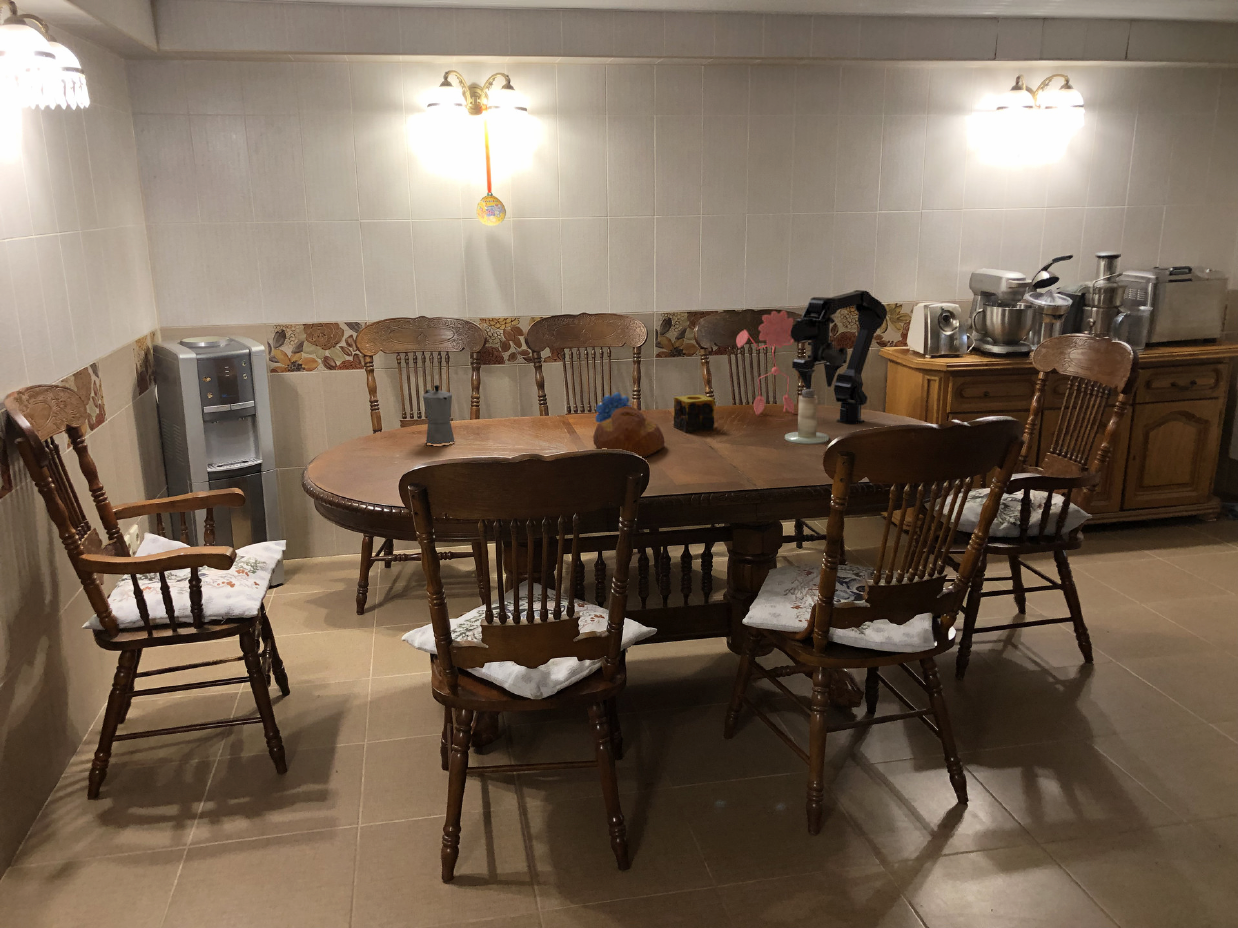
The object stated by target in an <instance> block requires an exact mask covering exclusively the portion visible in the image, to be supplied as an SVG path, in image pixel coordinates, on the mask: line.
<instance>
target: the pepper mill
mask: <svg viewBox="0 0 1238 928" xmlns="http://www.w3.org/2000/svg"><path fill="white" fill-rule="evenodd" d="M797 411H798V412H797V413H798V415H797V432H798V437H801V438H814V437H816V432H817V427H818V424H817V423H818V422H817V421H818V396H817V395H815V389H812V388H811V389H806V388H805V389H802V391H801V395H799V396H798V410H797Z"/></svg>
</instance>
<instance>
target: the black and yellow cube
mask: <svg viewBox="0 0 1238 928" xmlns="http://www.w3.org/2000/svg"><path fill="white" fill-rule="evenodd" d="M673 403H674V404H673V427H674V428H675V429H677V430H680V431H683V432H684V433H686V434H687V433H698V432H706V431H713V430H714V429H715V399H714V398H711V397H709V396H706V395H704V394H694V395H693V394H692V395H683V396H674V397H673Z"/></svg>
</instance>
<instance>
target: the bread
mask: <svg viewBox="0 0 1238 928" xmlns="http://www.w3.org/2000/svg"><path fill="white" fill-rule="evenodd" d="M630 406H631V405H630ZM630 406H625V407H622V408H618V409H617V410H615V411H614V412H613V414H612V415H611V418H609V419H607V420H604V421H602V422H598V424H597V425H596V428H594V429H595V430H594V432H593V436H592V438H593V445H594V446H595V447H596V448H597V449H598V450H599V449H602V448H607V449H622V450H626V451H630V452H634V453H636V454H638V455H639V456H642V458H645V457H648V456H650V455H652V454H654V453H656V452H657V451H659V450H661V449H662V448H663V447H664V445H665V436H664V434H663V432H662V430H661V428H660V427H659V424H657V423H655V422H653V421H651V420H649V419H647V418H646V417H645V416H644V414H643V413H642V412H641V411H640V410H639V409H637V408H636V407H633V406H631V407H630Z"/></svg>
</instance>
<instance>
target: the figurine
mask: <svg viewBox="0 0 1238 928" xmlns="http://www.w3.org/2000/svg"><path fill="white" fill-rule="evenodd" d="M761 318H762V321H763V323H762V324H760V325H759V326H758V331H759V332H760V333H759V337H758V339H759V340H760V341H766V345H762V346H758V345H757V343H755V341H754V339H753V338H752V337H751V336H750V335H749V332H748V331H747V329H743V330H742V331H740V332H739V333H738V335H737V336H736V340H735V341H736V346H737V348H738V349H740V348H742V347H743V346H744V345H745V344H746V343H747V341H748V338H749V339H750V341H751V342H752V343H753V345H754V346H755V348H756V349H757V350H759V349H762V348H766V347H767V348H770V349H771V348H772V347H773V348H772V352H771V355H772V359H773V363H774V367H772V368H771V372H769V373H767V374H764V375H762V376H759V377H758V379H757V382H758V393H759V394H758V396H757V397H756V398H755V399H754V401H753V409H754V412H755V414H756V416H758V415H760V414H761V413H762V412H763V411H764V408H765V407H766V406H765V405H766V402H765V398H764V397H763V396H762V395H761V386H760V384H761V383H760V379H763V378H764V377H767V376H769V375H771V374H773V375H774V376H777V375H779V374H781V375H783V376H784V377H786V378H787V387H786V388H787V389H786V394H785V395H784V396H783V404H784V407H783V412H784V413H785V412H786V409H787V410H788V411H789V412H791V414H794V410H795V405H794V402H793V400H792V398H791V397H790V396H789V387H790V385H789V384H790V377H789V376H787V374H785V373H782V372H781V370H780V368H779V367H778V366H777V364H776V363H777V362H776V357H775V347H777V348H778V349H781V348H783V346H792V345H793V344H794V342H795V341H794V340H793V339H792V337H791V329H792V327H793V325H794V318H792V317H789V318H788V314H787V310H781V312H780V313H778V312H777V311H772V312H771V314H764V315H762V317H761ZM793 419H795V417H793V418H790V420H793ZM771 420H778V421H779V420H780V421H781V420H786V418H779V419H778V418H771Z"/></svg>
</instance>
